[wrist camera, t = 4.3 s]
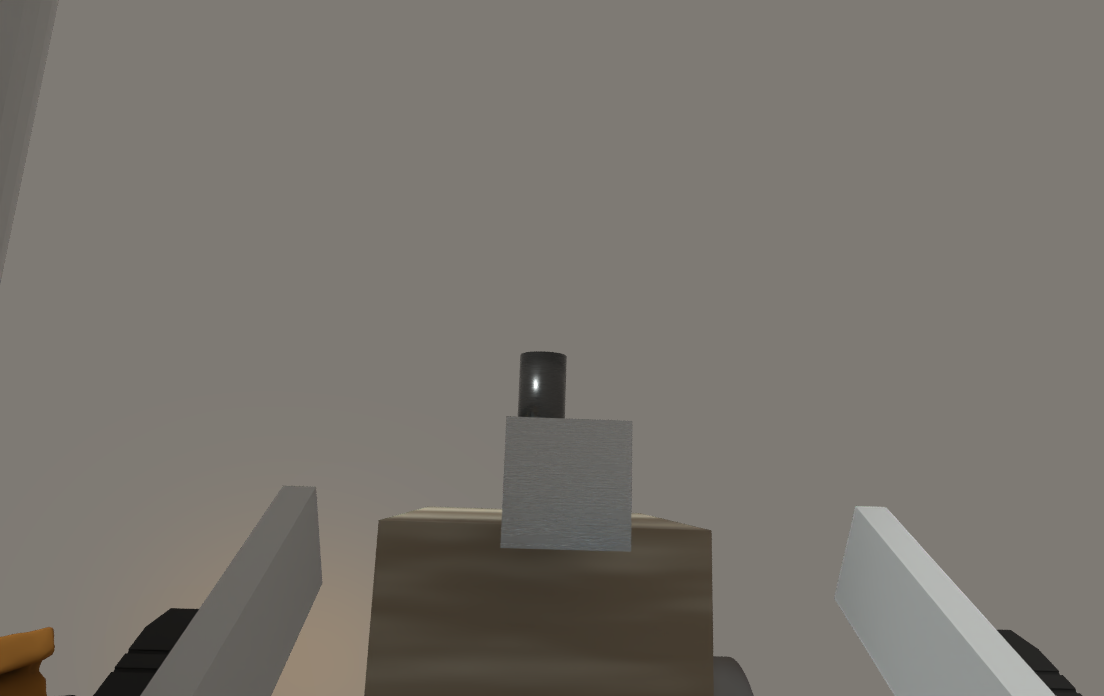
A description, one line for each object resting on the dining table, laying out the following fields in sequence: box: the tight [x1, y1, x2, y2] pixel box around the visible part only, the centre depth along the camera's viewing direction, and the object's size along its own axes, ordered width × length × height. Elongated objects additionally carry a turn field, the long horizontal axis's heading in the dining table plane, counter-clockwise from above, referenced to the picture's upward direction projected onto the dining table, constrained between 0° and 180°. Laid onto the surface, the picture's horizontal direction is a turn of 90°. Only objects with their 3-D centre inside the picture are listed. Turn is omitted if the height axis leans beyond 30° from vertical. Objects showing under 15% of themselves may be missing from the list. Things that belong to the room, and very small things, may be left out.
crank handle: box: [500, 352, 632, 552], centre depth 26 cm, size 20×3×8 cm, turn 3°
